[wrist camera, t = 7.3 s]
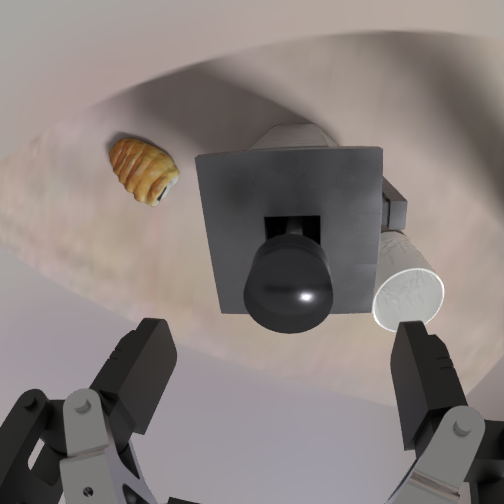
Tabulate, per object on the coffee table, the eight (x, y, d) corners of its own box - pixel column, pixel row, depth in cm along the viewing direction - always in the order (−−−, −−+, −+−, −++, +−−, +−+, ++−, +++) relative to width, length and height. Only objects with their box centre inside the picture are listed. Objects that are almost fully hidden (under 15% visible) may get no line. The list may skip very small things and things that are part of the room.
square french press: (364, 123, 30) (432, 150, 13) (365, 210, 34) (411, 311, 18) (248, 127, 32) (190, 157, 16) (257, 213, 37) (217, 313, 20)
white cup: (358, 284, 39) (369, 336, 30) (357, 228, 36) (373, 271, 27) (414, 279, 37) (437, 327, 29) (418, 224, 34) (449, 264, 25)
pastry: (107, 165, 37) (91, 172, 33) (131, 122, 34) (115, 126, 30) (160, 207, 38) (147, 218, 35) (188, 166, 36) (177, 173, 32)
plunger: (343, 142, 23) (397, 201, 10) (343, 233, 27) (373, 365, 13) (244, 147, 25) (173, 209, 11) (254, 235, 28) (209, 363, 15)
